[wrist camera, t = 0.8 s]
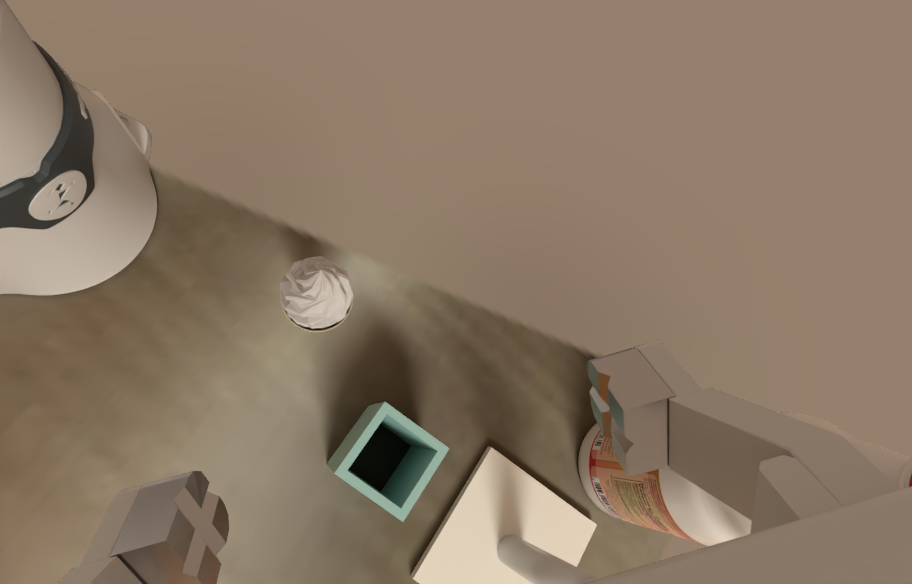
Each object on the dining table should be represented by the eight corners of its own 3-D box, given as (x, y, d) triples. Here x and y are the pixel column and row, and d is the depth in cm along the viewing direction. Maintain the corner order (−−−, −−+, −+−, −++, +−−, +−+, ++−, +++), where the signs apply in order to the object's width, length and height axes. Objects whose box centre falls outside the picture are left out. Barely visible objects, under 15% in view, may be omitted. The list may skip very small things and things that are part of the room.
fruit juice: (582, 404, 50) (891, 384, 24) (665, 425, 52) (1033, 428, 26) (568, 508, 47) (901, 611, 21) (656, 526, 49) (1059, 641, 23)
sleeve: (326, 463, 42) (334, 473, 34) (368, 405, 44) (385, 401, 36) (382, 503, 43) (403, 522, 35) (420, 443, 45) (449, 448, 37)
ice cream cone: (307, 278, 45) (312, 214, 32) (355, 312, 46) (381, 263, 32) (269, 324, 44) (257, 278, 30) (320, 359, 44) (331, 329, 30)
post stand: (410, 575, 42) (468, 651, 28) (487, 446, 47) (571, 456, 32) (525, 656, 43) (637, 768, 29) (590, 523, 48) (715, 565, 33)
